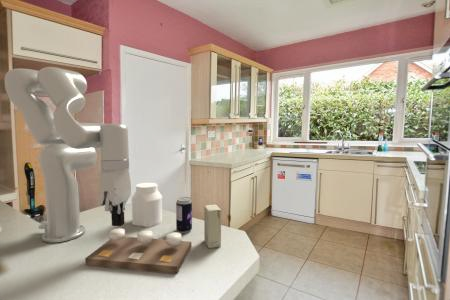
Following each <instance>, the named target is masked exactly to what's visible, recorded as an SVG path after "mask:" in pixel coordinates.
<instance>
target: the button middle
mask: <svg viewBox="0 0 450 300" xmlns="http://www.w3.org/2000/svg"><path fill="white" fill-rule="evenodd" d="M153 235H154V234H153V231H152V230H149V229H148V230H141V231H139V232H138V233H137V234H136V236H137V241H138V242H139V243H148V242H151V241H152V240H153V239H154V236H153Z"/></svg>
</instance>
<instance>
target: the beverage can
mask: <svg viewBox="0 0 450 300" xmlns="http://www.w3.org/2000/svg"><path fill="white" fill-rule="evenodd" d="M175 204H176V205H175V210H176V211H175V214H176V215H175V217H176V219H175V220H176V221H175V229H176V231H177V232H178V233H180V234H186V233H189V232H190V231H191V230H192V229H193V201H192V198H191V197H188V196H181V197H178V198H177V200H176V202H175Z"/></svg>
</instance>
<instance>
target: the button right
mask: <svg viewBox="0 0 450 300" xmlns="http://www.w3.org/2000/svg"><path fill="white" fill-rule="evenodd" d="M165 237H166V239H165V240H166V243H167V244H168V245H171V246H174V245H178V244H180V243H181V241H182V233H180V232H178V231H176V232H175V231H174V232H169V233H168V234H166V236H165Z"/></svg>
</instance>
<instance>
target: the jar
mask: <svg viewBox="0 0 450 300" xmlns="http://www.w3.org/2000/svg"><path fill="white" fill-rule="evenodd" d="M158 187H159V185H158V183H156V182H141V183H140V182H139V183H137V184H136V185H135V192H134V193H133V195H132V196H131V218H132V219H131V224H132V225H133V226H139V227H144V228H150V227H155V226H157V225H159V224H161V223H162V221H163V201H162V200H163V195H162V194H161V193H160V191H159V189H158Z"/></svg>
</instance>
